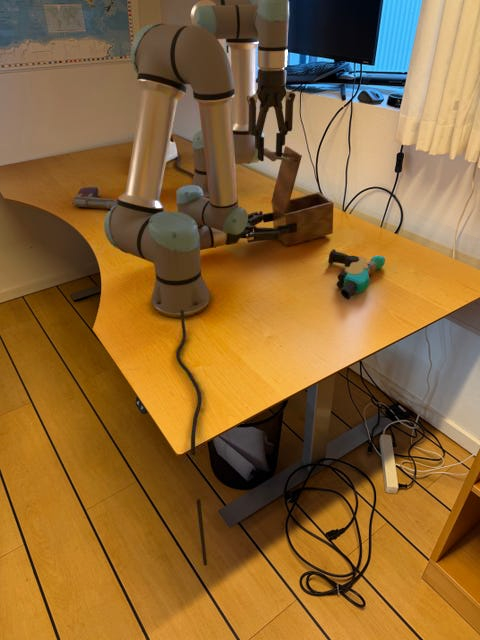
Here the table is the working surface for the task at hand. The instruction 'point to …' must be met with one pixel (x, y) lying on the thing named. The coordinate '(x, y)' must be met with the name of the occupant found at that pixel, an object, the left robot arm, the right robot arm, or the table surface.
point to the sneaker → (172, 149)
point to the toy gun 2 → (354, 272)
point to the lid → (284, 176)
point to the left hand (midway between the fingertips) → (288, 221)
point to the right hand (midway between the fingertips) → (269, 158)
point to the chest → (305, 218)
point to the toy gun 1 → (92, 199)
